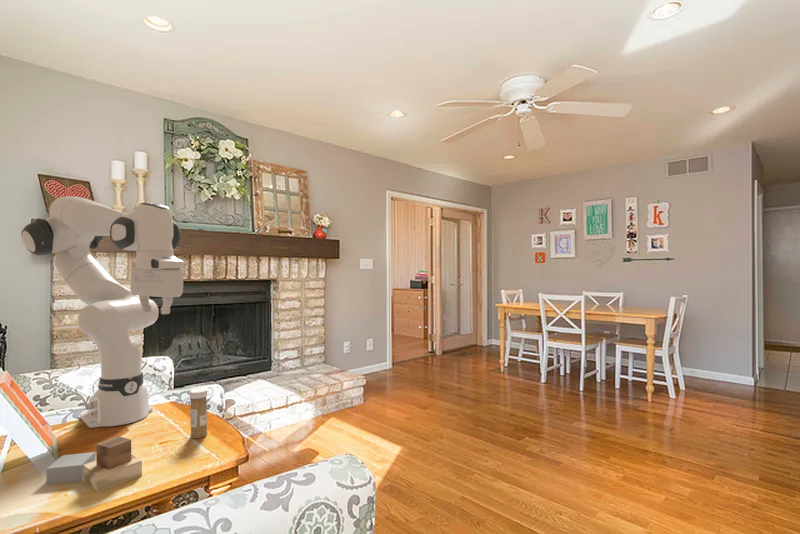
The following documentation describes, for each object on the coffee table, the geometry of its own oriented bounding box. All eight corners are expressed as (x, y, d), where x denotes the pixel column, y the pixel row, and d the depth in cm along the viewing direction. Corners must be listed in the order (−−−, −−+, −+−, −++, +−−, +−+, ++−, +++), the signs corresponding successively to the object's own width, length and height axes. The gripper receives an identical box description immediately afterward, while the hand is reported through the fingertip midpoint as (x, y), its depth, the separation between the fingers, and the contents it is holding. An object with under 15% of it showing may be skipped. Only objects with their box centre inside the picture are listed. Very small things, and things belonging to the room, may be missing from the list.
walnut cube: (96, 465, 100) (96, 444, 100) (118, 456, 104) (118, 436, 104) (109, 469, 98) (109, 447, 98) (131, 460, 102) (131, 439, 102)
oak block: (83, 481, 100) (83, 464, 100) (125, 466, 107) (125, 451, 107) (98, 493, 95) (98, 475, 95) (141, 477, 102) (141, 460, 102)
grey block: (63, 471, 105) (62, 455, 105) (95, 467, 107) (95, 452, 106) (46, 485, 98) (46, 468, 98) (81, 482, 100) (81, 465, 100)
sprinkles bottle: (208, 436, 125) (208, 390, 125) (191, 440, 122) (190, 393, 122) (205, 431, 129) (205, 386, 129) (189, 434, 126) (188, 389, 126)
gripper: (123, 262, 120) (124, 311, 120) (164, 262, 109) (164, 316, 109) (146, 262, 125) (147, 309, 125) (187, 262, 114) (188, 313, 114)
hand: (155, 312), depth 117 cm, fingers open, 8 cm apart
